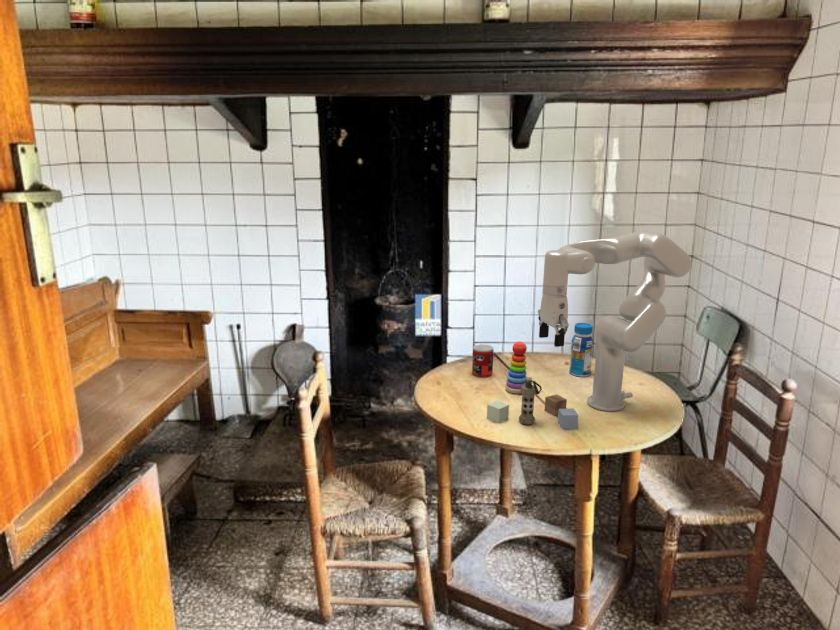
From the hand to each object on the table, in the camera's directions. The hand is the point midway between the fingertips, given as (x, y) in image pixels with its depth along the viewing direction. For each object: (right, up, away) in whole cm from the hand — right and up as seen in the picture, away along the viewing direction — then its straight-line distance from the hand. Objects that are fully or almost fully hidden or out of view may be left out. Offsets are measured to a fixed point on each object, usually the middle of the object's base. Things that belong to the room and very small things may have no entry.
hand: (551, 341), depth 205 cm
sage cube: (-17, -26, +5) cm, 31 cm away
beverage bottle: (+21, -15, +46) cm, 52 cm away
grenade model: (-7, -26, +3) cm, 27 cm away
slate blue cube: (+5, -27, 0) cm, 28 cm away
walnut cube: (+4, -24, +10) cm, 27 cm away
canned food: (-18, -15, +44) cm, 50 cm away
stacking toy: (-7, -19, +28) cm, 35 cm away
